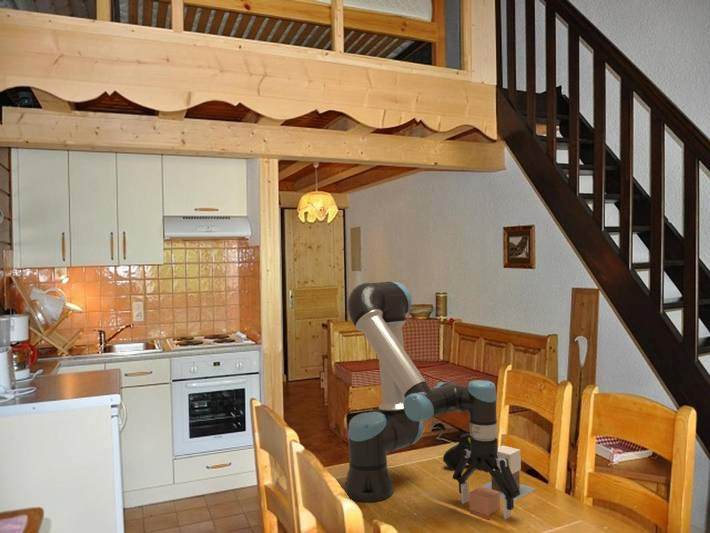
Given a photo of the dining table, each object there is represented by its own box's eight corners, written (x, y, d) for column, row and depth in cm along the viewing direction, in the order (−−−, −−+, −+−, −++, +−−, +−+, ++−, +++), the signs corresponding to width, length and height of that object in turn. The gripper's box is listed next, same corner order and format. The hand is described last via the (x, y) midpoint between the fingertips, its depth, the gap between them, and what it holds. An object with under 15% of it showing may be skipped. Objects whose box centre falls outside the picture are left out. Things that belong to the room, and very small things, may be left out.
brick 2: (491, 489, 168) (491, 469, 168) (502, 483, 172) (501, 464, 172) (509, 494, 163) (508, 474, 163) (519, 488, 167) (519, 468, 167)
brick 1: (469, 513, 154) (469, 492, 154) (481, 506, 158) (481, 486, 158) (488, 520, 150) (487, 498, 150) (500, 513, 154) (499, 492, 154)
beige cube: (492, 469, 167) (492, 450, 167) (503, 464, 171) (502, 445, 171) (510, 475, 163) (510, 454, 163) (520, 469, 167) (520, 449, 167)
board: (475, 493, 168) (475, 489, 168) (498, 480, 177) (498, 477, 177) (513, 506, 158) (513, 501, 158) (536, 492, 167) (536, 488, 167)
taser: (441, 457, 192) (466, 424, 189) (483, 491, 187) (510, 458, 185) (439, 461, 188) (464, 428, 185) (482, 496, 183) (509, 462, 181)
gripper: (439, 431, 161) (441, 504, 160) (517, 450, 142) (519, 532, 142) (454, 425, 166) (456, 496, 166) (531, 443, 148) (533, 522, 148)
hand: (485, 513), depth 154 cm, fingers open, 13 cm apart
